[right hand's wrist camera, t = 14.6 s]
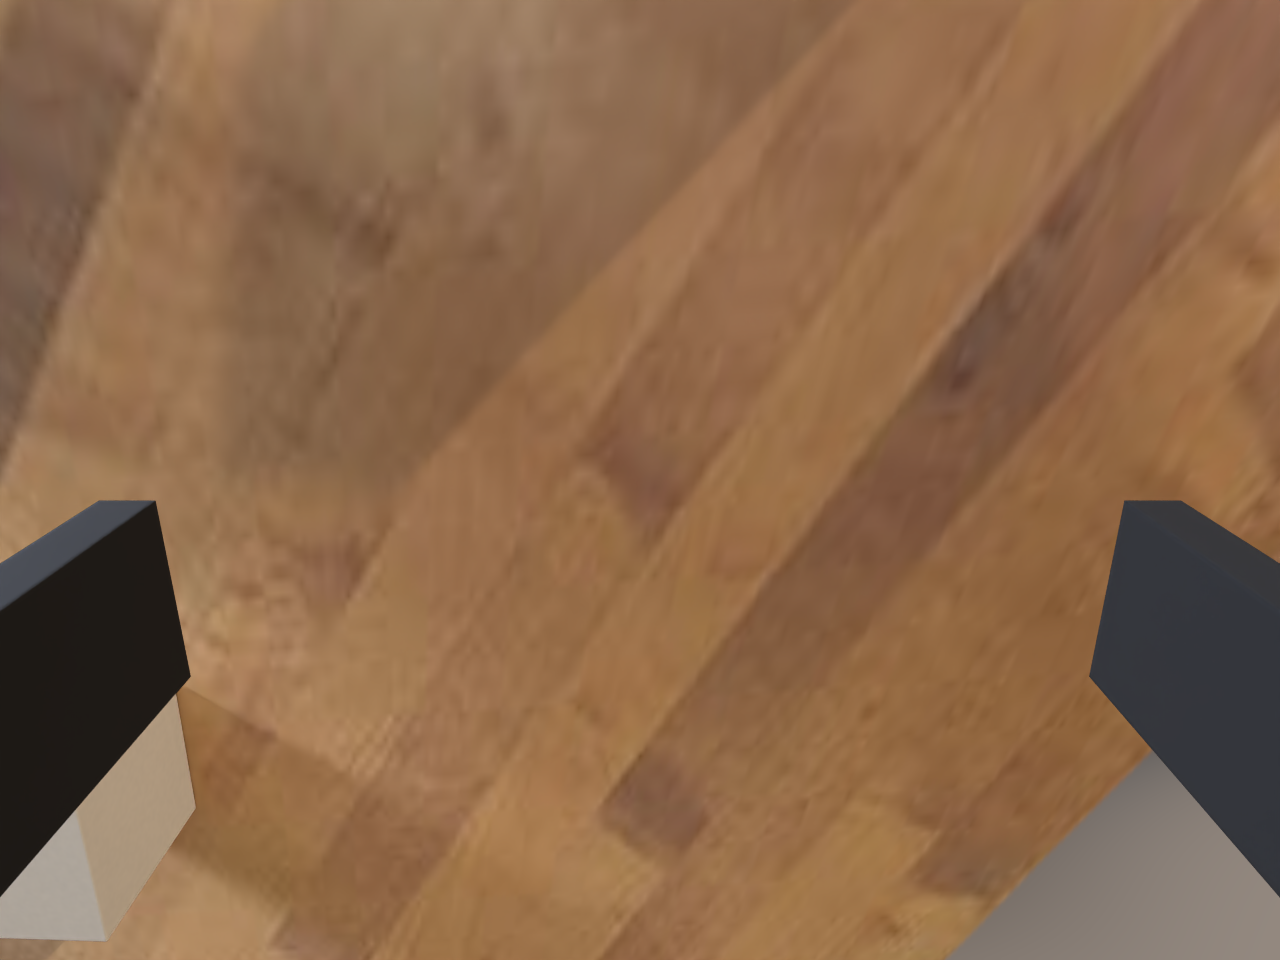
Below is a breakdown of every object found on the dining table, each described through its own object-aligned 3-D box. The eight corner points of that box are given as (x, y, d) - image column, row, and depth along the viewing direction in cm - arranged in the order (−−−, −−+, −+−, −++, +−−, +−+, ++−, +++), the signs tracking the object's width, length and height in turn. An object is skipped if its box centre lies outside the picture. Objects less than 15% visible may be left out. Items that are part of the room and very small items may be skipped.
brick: (196, 808, 43) (107, 942, 36) (87, 804, 43) (-24, 938, 36) (174, 680, 40) (73, 798, 33) (58, 676, 40) (-68, 793, 33)
